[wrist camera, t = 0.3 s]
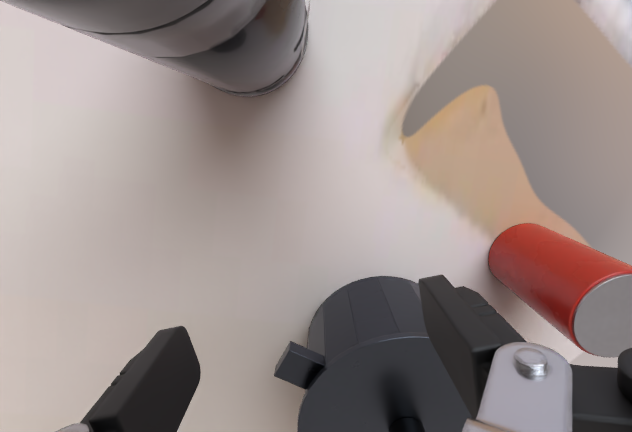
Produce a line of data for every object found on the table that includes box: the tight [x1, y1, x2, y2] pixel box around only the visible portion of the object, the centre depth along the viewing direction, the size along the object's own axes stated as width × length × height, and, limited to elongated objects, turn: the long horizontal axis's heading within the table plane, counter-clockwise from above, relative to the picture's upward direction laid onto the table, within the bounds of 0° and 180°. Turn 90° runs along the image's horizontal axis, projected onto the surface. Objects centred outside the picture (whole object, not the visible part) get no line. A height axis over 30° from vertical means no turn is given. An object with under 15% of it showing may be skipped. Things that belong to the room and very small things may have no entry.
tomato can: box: [489, 223, 632, 357], centre depth 24 cm, size 6×6×10 cm
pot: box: [274, 276, 427, 392], centre depth 27 cm, size 14×19×9 cm
